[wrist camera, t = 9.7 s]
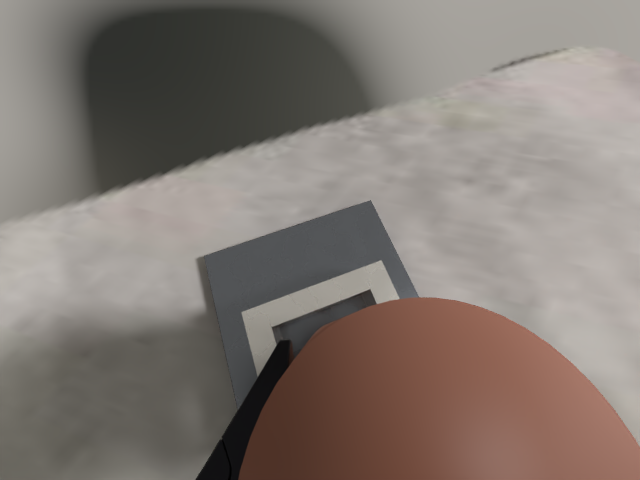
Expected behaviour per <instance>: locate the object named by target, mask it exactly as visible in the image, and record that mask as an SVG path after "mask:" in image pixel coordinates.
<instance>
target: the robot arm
mask: <svg viewBox="0 0 640 480" xmlns="http://www.w3.org/2000/svg"><path fill="white" fill-rule="evenodd" d="M293 360H294V355H293V347H292V341H291V340H290V339H284V340H280V341H279V342H278V344H277V345H276V347H275V349H274V350H273V352H272V354H271V355H270V357H269V359H268V360H267V362H266V364H265V366H264V367H263V369H262V371H261V372H260V374H259V376H258V377H257V379H256V381H255V382H254V384H253V386H252V387H251V389H250V391H249V392H248V394H247V396H246V397H245V399H244V401H243V402H242V404H241V406H240V407H239V409H238V411H237V412H236V414H235V416H234V417H233V419H232V421H231V422H230V424H229V426H228V427H227V429H226V431H225V433H224V434H223V436H222V439H221V440H220V441H219V442H218V444H217V446H216V447H215V449H214V451H213V452H212V454H211V456H210V457H209V459H208V461H207V462H206V464H205V465H204V467H203V468H202V470H201V472H200V473H199V475H198V476H197V478H196V479H195V480H238V478H239V473H240V469H241V466H242V462H243V459H244V456H245V453H246V449H247V446H248V443H249V440H250V437H251V434H252V432H253V430H254V427H255V425H256V423H257V420H258V418H259V416H260V413H261V411H262V408H263V407H264V405H265V403H266V401H267V400H268V398H269V396H270V394H271V393H272V391H273V389H274V387H275V385H276V384H277V382H278V381H279V379H280V378H281V377H282V375H283V374H284V373H285V371H286V370H287V369H288V367H289V366H290V364H291V363H292V362H293Z"/></svg>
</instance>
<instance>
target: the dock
mask: <svg viewBox="0 0 640 480" xmlns="http://www.w3.org/2000/svg"><path fill="white" fill-rule="evenodd" d="M204 258H205V263H206V267H207V272H208V276H209V281H210V285H211V290H212V295H213V299H214V304H215V308H216V313H217V317H218V322H219V326H220V331H221V336H222V340H223V345H224V349H225V354H226V358H227V363H228V367H229V372H230V377H231V381H232V386H233V390H234V395H235V399H236V404H237V409H239V407H240V406H241V404H242V402H243V401H244V399H245V397H246V396H247V394H248V392H249V391H250V389H251V387H252V386H253V384H254V382H255V381H256V379H257V377H258V376H259V374H260V372H261V371H262V369H263V367H264V366H265V364H266V362H267V360H268V359H269V357H270V355H271V354H272V352H273V350H274V349H275V347H276V345H277V344H278V342H279V341H280V340H284V339H290V340H291V341H292V347H293V355H294V359H295V358H296V356H297V355H298V354H299V353H300V351H301V350H302V349H303V347H304V346H305V345H306V343H307V342H308V341H309V339H310V338H311V337H312V335H313V334H314V333H315V332H316V331H317V330H318V329H319V328H321V327H322V326H324V325H326V324H328V323H331V322H333V321H336V320H338V319H340V318H343V317H345V316H347V315H350V314H352V313H355V312H357V311H359V310H362V309H364V308H366V307H369V306H372V305H376V304H379V303H383V302H387V301H390V300H398V299H405V298H419V296H418V294H417V292H416V290H415V288H414V286H413V284H412V282H411V280H410V278H409V276H408V274H407V272H406V270H405V268H404V266H403V264H402V262H401V260H400V258H399V256H398V254H397V252H396V250H395V248H394V246H393V244H392V242H391V240H390V238H389V236H388V234H387V232H386V230H385V228H384V226H383V224H382V222H381V220H380V218H379V216H378V214H377V212H376V210H375V208H374V206H373V204H372V202H371V200H370V201H367V202H364V203H361V204H358V205H355V206H352V207H349V208H346V209H343V210H340V211H337V212H334V213H331V214H328V215H325V216H322V217H319V218H316V219H313V220H310V221H307V222H304V223H302V224H299V225H296V226H293V227H290V228H287V229H284V230H281V231H278V232H275V233H272V234H269V235H266V236H263V237H260V238H257V239H254V240H251V241H248V242H245V243H242V244H239V245H236V246H233V247H230V248H227V249H224V250H221V251H218V252H215V253H212V254H209V255H206V256H204Z"/></svg>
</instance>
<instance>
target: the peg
mask: <svg viewBox="0 0 640 480" xmlns="http://www.w3.org/2000/svg"><path fill="white" fill-rule="evenodd" d="M238 480H640V447H639V445H638V443H637V442H636V440H635V438H634V437H633V436H632V434H631V433H630V431H629V430H628V428H627V427H626V426H625V424H624V423H623V421H622V420H621V418H620V417H619V416H618V414H617V413H616V411H615V410H614V409H613V407H612V406H611V405H610V404H609V403H608V401H607V400H606V399H605V398H604V397H603V395H602V394H601V393H600V392H599V391H598V389H597V388H596V387H595V386H594V385H593V384H592V383H591V382H590V381H589V380H588V379H587V378H586V377H585V376H584V375H583V374H582V373H581V372H580V371H579V370H578V369H577V368H576V367H575V366H574V365H573V364H572V363H571V362H570V361H569V360H568V359H567V358H565V357H564V356H563V355H562V354H561V353H559V352H558V351H557V350H556V349H554V348H553V347H552V346H551V345H550V344H548V343H547V342H545V341H544V340H542V339H541V338H540V337H538V336H537V335H535V334H534V333H532V332H531V331H529V330H528V329H526V328H524V327H523V326H521V325H519V324H517V323H515V322H513V321H511V320H509V319H508V318H506V317H504V316H502V315H499V314H497V313H494V312H492V311H489V310H487V309H484V308H481V307H478V306H475V305H471V304H467V303H464V302H460V301H455V300H448V299H441V298H405V299H398V300H390V301H387V302H383V303H379V304H376V305H372V306H369V307H366V308H364V309H362V310H359V311H357V312H355V313H352V314H350V315H347V316H345V317H343V318H340V319H338V320H336V321H333V322H331V323H328V324H326V325H324V326H322V327H321V328H319V329H318V330H317V331H316V332H315V333H314V334H313V335H312V337H311V338H310V339H309V341H308V342H307V343H306V345H305V346H304V347H303V349H302V350H301V351H300V353H299V354H298V355H297V356H296V358H295V359H294V360H293V362H292V363H291V364H290V366H289V367H288V369H287V370H286V371H285V373H284V374H283V375H282V377H281V378H280V379H279V381H278V382H277V384H276V385H275V387H274V389H273V391H272V393H271V394H270V396H269V398H268V400H267V401H266V403H265V405H264V407H263V408H262V411H261V413H260V416H259V418H258V420H257V423H256V425H255V427H254V430H253V432H252V434H251V437H250V440H249V443H248V446H247V449H246V453H245V456H244V459H243V462H242V466H241V469H240V473H239V478H238Z"/></svg>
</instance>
